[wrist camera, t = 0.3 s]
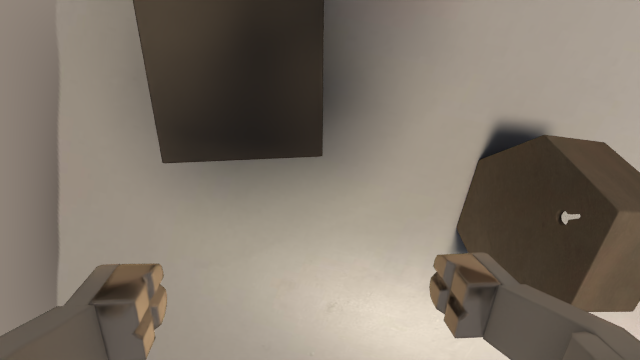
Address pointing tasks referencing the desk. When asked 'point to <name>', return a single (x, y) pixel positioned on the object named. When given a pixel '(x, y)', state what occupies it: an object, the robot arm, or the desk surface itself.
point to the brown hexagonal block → (560, 220)
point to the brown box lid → (234, 77)
